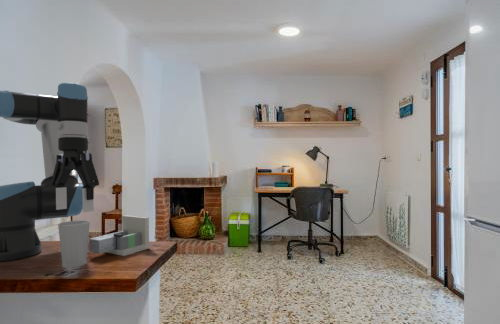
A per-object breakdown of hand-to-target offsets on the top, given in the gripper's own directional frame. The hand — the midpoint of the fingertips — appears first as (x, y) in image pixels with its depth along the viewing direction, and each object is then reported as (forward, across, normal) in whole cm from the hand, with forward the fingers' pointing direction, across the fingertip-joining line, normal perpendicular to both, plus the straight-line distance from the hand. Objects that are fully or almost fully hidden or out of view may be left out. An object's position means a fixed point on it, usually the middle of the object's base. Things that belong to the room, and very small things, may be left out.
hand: (74, 210), depth 89 cm
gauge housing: (+16, 0, +17) cm, 23 cm away
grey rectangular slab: (+14, +1, +10) cm, 17 cm away
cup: (+16, 0, 0) cm, 16 cm away
